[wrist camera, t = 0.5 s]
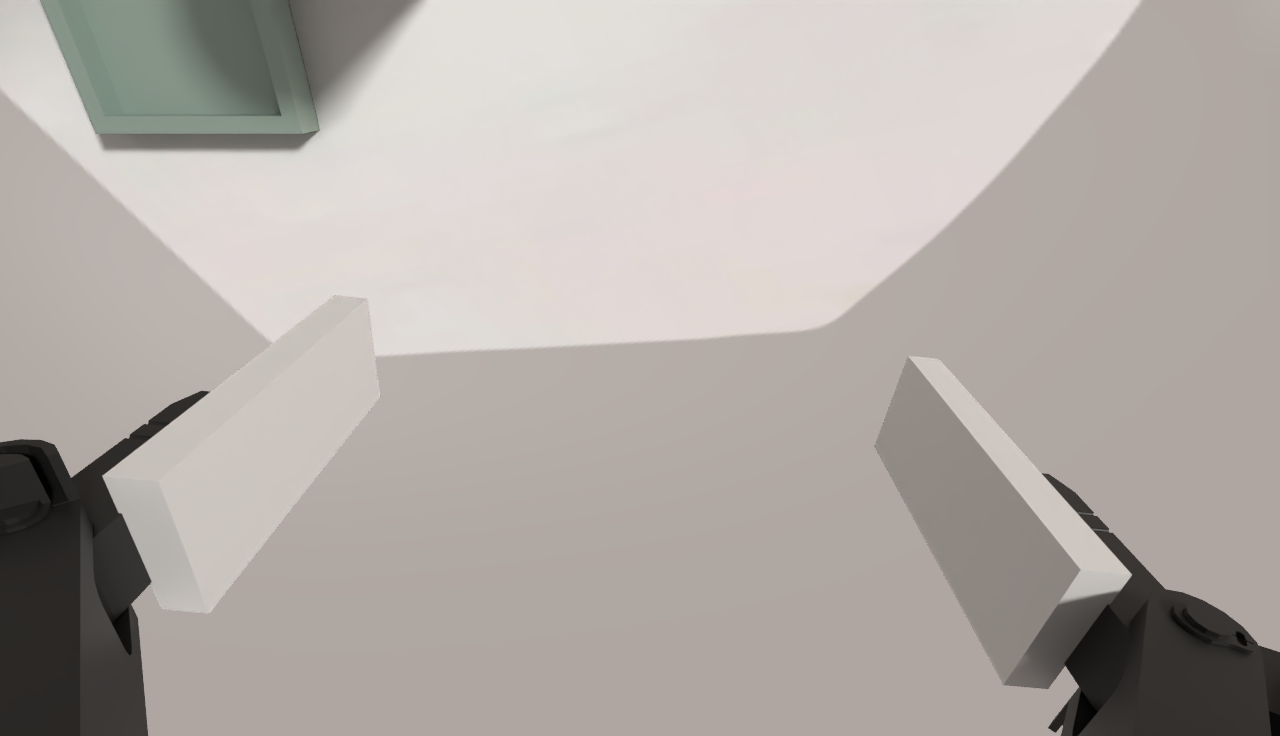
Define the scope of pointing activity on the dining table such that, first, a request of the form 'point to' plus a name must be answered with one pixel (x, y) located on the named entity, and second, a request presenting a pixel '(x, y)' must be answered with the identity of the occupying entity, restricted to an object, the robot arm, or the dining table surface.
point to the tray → (185, 65)
